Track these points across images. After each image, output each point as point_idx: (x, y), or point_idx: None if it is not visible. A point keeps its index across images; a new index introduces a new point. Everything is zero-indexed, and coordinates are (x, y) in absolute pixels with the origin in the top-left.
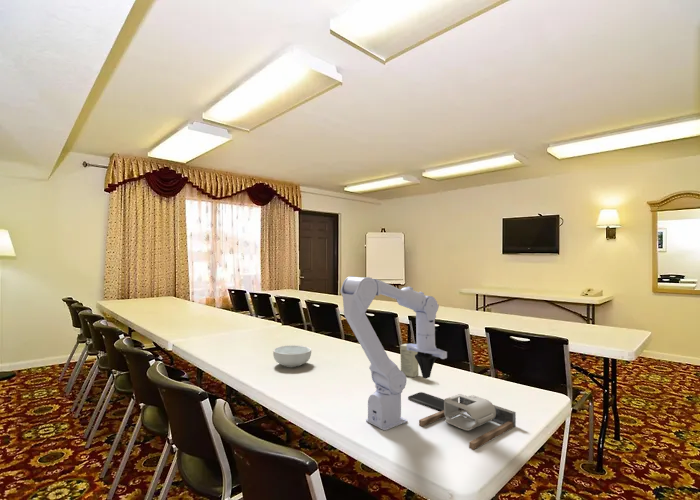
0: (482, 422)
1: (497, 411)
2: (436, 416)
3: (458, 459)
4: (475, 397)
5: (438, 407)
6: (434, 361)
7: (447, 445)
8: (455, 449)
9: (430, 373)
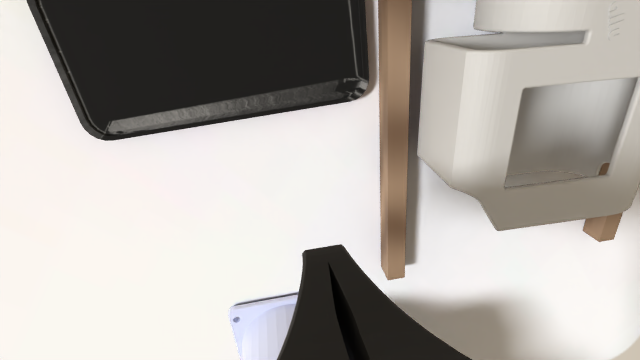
0: (615, 104)
1: None
2: (405, 197)
3: (578, 291)
4: (620, 17)
5: (315, 86)
6: (453, 354)
7: (525, 271)
8: (552, 266)
9: (354, 263)
